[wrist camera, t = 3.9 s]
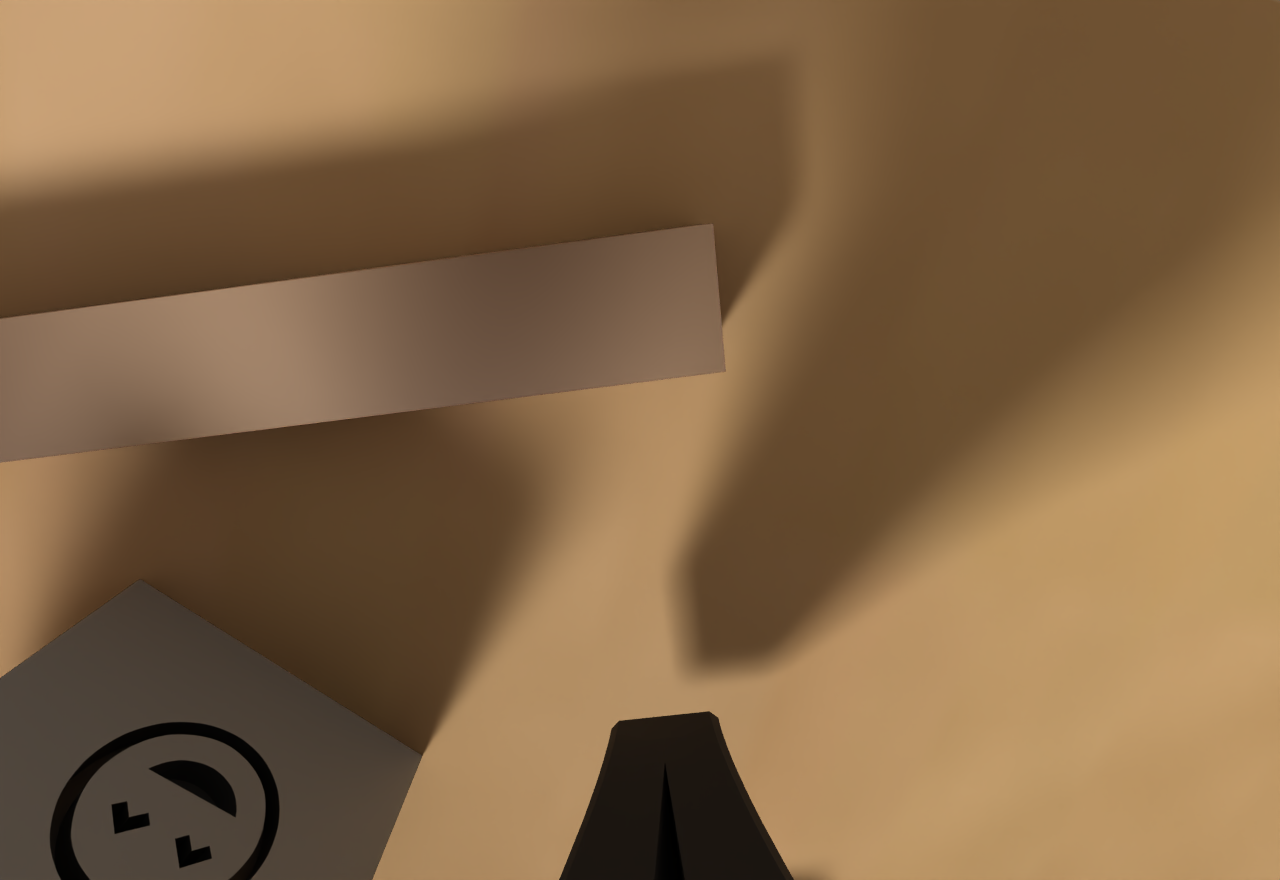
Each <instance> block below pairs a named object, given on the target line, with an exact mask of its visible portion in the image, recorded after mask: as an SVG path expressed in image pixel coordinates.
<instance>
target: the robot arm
mask: <svg viewBox="0 0 1280 880" xmlns="http://www.w3.org/2000/svg"><path fill="white" fill-rule="evenodd" d="M559 880H794V879H793V877H792V876H791V874H790V872H789V870H788V869H787V867H786V865H785V863H784V861H783V859H782V858H781V856H780V854H779V852H778V850H777V849H776V847H775V845H774V843H773V841H772V839H771V838H770V836H769V834H768V832H767V830H766V828H765V827H764V825H763V823H762V821H761V819H760V817H759V815H758V813H757V811H756V809H755V807H754V805H753V803H752V801H751V799H750V797H749V795H748V793H747V791H746V789H745V787H744V785H743V782H742V780H741V778H740V776H739V774H738V772H737V769H736V767H735V765H734V762H733V760H732V758H731V755H730V753H729V750H728V748H727V745H726V742H725V739H724V736H723V733H722V730H721V727H720V723H719V719H718V717H716V716H715V715H714V714H712V713H711V712H699V713H690V714H680V715H671V716H661V717H652V718H642V719H633V720H623V721H619V722H618V723H617V724H616V725H615V726H614V727H613V728H612V730H611V734H610V739H609V743H608V747H607V750H606V754H605V757H604V761H603V764H602V767H601V771H600V774H599V777H598V780H597V783H596V786H595V789H594V792H593V794H592V797H591V800H590V803H589V806H588V809H587V811H586V814H585V817H584V819H583V822H582V824H581V827H580V829H579V832H578V834H577V837H576V839H575V842H574V844H573V847H572V849H571V852H570V854H569V857H568V859H567V862H566V864H565V867H564V870H563V872H562V874H561V877H560V879H559Z"/></svg>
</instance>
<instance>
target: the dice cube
mask: <svg viewBox="0 0 1280 880" xmlns="http://www.w3.org/2000/svg"><path fill="white" fill-rule="evenodd" d="M421 758H422V755H420V754H419V753H417V752H416V751H414V750H412V749H411V748H409V747H408V746H406V745H404V744H403V743H401V742H400V741H398V740H396V739H395V738H393V737H392V736H390V735H388V734H387V733H385V732H384V731H382V730H380V729H379V728H377V727H376V726H374V725H372V724H371V723H369V722H368V721H366V720H364V719H363V718H361V717H360V716H358V715H356V714H355V713H353V712H352V711H350V710H348V709H347V708H345V707H344V706H342V705H340V704H339V703H337V702H336V701H334V700H332V699H331V698H329V697H328V696H326V695H324V694H323V693H321V692H320V691H318V690H316V689H315V688H313V687H312V686H310V685H308V684H307V683H305V682H304V681H302V680H300V679H299V678H297V677H296V676H294V675H292V674H291V673H289V672H288V671H286V670H284V669H283V668H281V667H280V666H278V665H276V664H275V663H273V662H272V661H270V660H268V659H267V658H265V657H264V656H262V655H260V654H259V653H257V652H256V651H254V650H252V649H251V648H249V647H248V646H246V645H244V644H243V643H241V642H240V641H238V640H236V639H235V638H233V637H232V636H230V635H228V634H227V633H225V632H224V631H222V630H220V629H219V628H217V627H216V626H214V625H212V624H211V623H209V622H208V621H206V620H204V619H203V618H201V617H200V616H198V615H196V614H195V613H193V612H192V611H190V610H188V609H187V608H185V607H184V606H182V605H180V604H179V603H177V602H176V601H174V600H172V599H171V598H169V597H168V596H166V595H164V594H163V593H161V592H160V591H158V590H156V589H155V588H153V587H152V586H150V585H148V584H147V583H145V582H144V581H142V580H140V579H139V580H138V581H136V582H135V583H134V584H132V585H131V586H129V587H128V588H127V589H125V590H124V591H122V592H121V593H119V594H118V595H117V596H115V597H114V598H112V599H111V600H110V601H108V602H107V603H105V604H104V605H103V606H101V607H100V608H98V609H97V610H95V611H94V612H93V613H91V614H90V615H88V616H87V617H86V618H84V619H83V620H81V621H80V622H79V623H77V624H76V625H74V626H73V627H72V628H70V629H69V630H67V631H66V632H64V633H63V634H62V635H60V636H59V637H57V638H56V639H55V640H53V641H52V642H50V643H49V644H48V645H46V646H45V647H43V648H42V649H40V650H39V651H38V652H36V653H35V654H33V655H32V656H31V657H29V658H28V659H26V660H25V661H24V662H22V663H21V664H19V665H18V666H16V667H15V668H14V669H12V670H11V671H9V672H8V673H7V674H5V675H4V676H2V677H1V678H0V880H372V879H373V876H374V874H375V871H376V869H377V866H378V864H379V861H380V859H381V857H382V854H383V852H384V849H385V847H386V844H387V842H388V839H389V837H390V834H391V832H392V829H393V827H394V825H395V822H396V820H397V817H398V815H399V812H400V810H401V807H402V805H403V802H404V800H405V797H406V795H407V793H408V790H409V788H410V785H411V783H412V780H413V778H414V775H415V773H416V770H417V768H418V765H419V763H420V761H421Z"/></svg>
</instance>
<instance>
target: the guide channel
mask: <svg viewBox="0 0 1280 880" xmlns="http://www.w3.org/2000/svg"><path fill="white" fill-rule="evenodd" d="M719 372H726V369H725V357H724V345H723V334H722V322H721V310H720V298H719V287H718V275H717V263H716V252H715V240H714V228H713V224H697V225H690V226H682V227H675V228H667V229H660V230H653V231H645V232H638V233H630V234H623V235H615V236H608V237H600V238H593V239H585V240H578V241H570V242H563V243H555V244H548V245H540V246H533V247H526V248H518V249H511V250H503V251H496V252H488V253H481V254H473V255H466V256H458V257H451V258H443V259H436V260H428V261H421V262H413V263H406V264H399V265H391V266H384V267H376V268H369V269H361V270H354V271H346V272H339V273H331V274H324V275H316V276H309V277H301V278H294V279H286V280H279V281H271V282H264V283H257V284H249V285H242V286H234V287H227V288H219V289H212V290H204V291H197V292H189V293H182V294H174V295H167V296H159V297H152V298H144V299H137V300H130V301H122V302H115V303H107V304H100V305H92V306H85V307H77V308H70V309H62V310H55V311H47V312H40V313H32V314H25V315H17V316H10V317H2V318H0V462H8V461H16V460H24V459H32V458H40V457H48V456H56V455H64V454H72V453H80V452H88V451H96V450H104V449H112V448H120V447H128V446H136V445H144V444H152V443H160V442H168V441H176V440H184V439H192V438H200V437H208V436H216V435H224V434H232V433H240V432H248V431H256V430H264V429H272V428H280V427H288V426H296V425H304V424H312V423H320V422H328V421H336V420H344V419H351V418H359V417H367V416H375V415H383V414H391V413H399V412H407V411H415V410H423V409H431V408H439V407H447V406H455V405H463V404H471V403H479V402H487V401H495V400H503V399H511V398H519V397H527V396H535V395H543V394H551V393H559V392H567V391H575V390H583V389H591V388H599V387H607V386H615V385H623V384H631V383H639V382H647V381H655V380H663V379H671V378H679V377H687V376H695V375H703V374H711V373H719Z"/></svg>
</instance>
